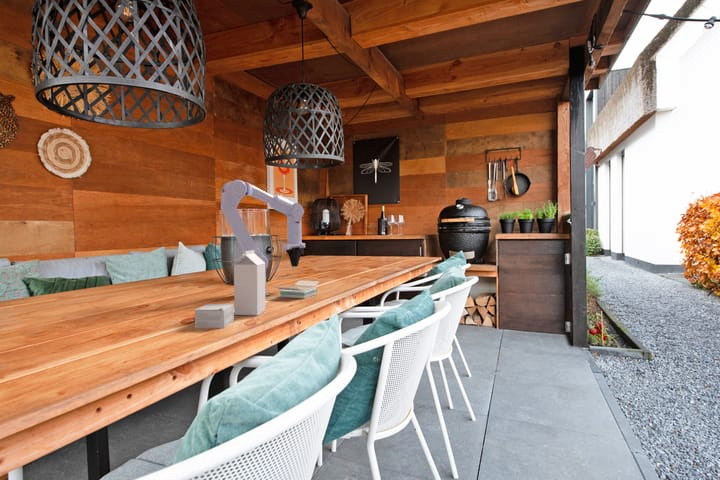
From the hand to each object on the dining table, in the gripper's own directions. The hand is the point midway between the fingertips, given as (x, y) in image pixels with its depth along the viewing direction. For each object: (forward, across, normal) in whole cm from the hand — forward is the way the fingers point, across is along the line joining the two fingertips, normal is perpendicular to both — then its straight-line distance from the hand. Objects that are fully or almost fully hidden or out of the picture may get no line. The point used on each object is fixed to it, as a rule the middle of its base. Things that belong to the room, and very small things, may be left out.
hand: (294, 266), depth 162 cm
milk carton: (+10, -42, -8) cm, 43 cm away
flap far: (+7, -5, -7) cm, 11 cm away
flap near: (+7, -14, -7) cm, 18 cm away
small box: (+10, -56, -7) cm, 58 cm away
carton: (+10, -10, -7) cm, 16 cm away
